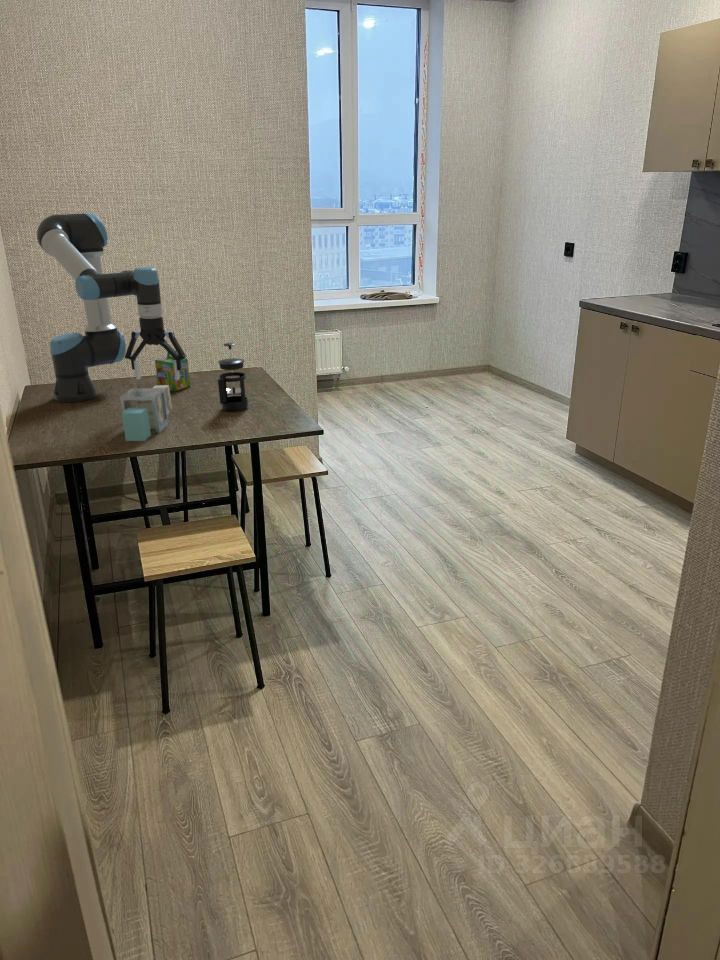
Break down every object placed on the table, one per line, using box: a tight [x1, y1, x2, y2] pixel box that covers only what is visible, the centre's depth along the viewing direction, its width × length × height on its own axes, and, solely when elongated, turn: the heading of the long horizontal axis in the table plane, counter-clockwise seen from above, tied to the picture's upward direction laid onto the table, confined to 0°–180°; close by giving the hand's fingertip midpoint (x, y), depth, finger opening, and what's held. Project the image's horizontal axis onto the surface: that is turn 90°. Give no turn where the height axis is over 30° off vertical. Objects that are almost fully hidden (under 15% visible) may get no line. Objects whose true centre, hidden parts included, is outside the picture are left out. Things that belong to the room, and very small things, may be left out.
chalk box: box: [154, 350, 191, 393], centre depth 273 cm, size 9×9×15 cm
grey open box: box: [119, 387, 169, 434], centre depth 226 cm, size 10×11×12 cm
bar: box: [136, 384, 173, 430], centre depth 236 cm, size 22×5×9 cm, turn 1°
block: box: [121, 407, 152, 442], centre depth 218 cm, size 6×6×9 cm
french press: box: [217, 342, 250, 413], centre depth 243 cm, size 12×9×23 cm
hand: (158, 379), depth 240 cm, fingers open, 13 cm apart
